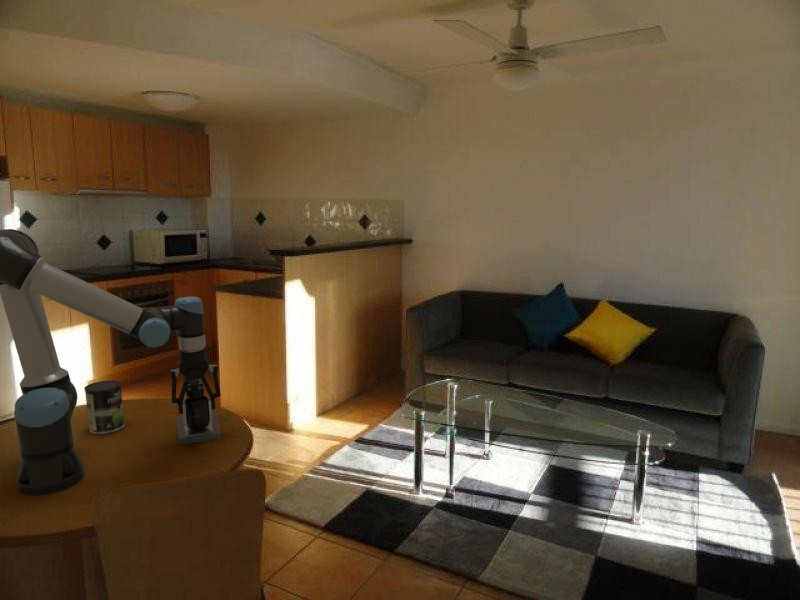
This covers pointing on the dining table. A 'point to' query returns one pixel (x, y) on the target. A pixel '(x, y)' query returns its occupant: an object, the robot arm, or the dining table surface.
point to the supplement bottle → (197, 408)
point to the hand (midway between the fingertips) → (198, 421)
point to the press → (200, 434)
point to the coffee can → (104, 407)
